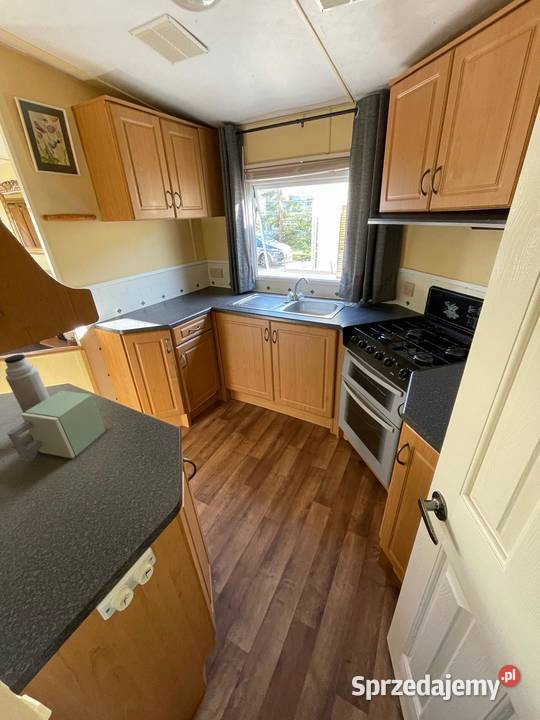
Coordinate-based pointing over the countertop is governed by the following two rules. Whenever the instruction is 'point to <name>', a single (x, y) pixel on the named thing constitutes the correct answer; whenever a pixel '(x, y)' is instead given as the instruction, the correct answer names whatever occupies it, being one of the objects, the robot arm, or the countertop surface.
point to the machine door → (41, 436)
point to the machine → (73, 417)
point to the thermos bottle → (25, 382)
